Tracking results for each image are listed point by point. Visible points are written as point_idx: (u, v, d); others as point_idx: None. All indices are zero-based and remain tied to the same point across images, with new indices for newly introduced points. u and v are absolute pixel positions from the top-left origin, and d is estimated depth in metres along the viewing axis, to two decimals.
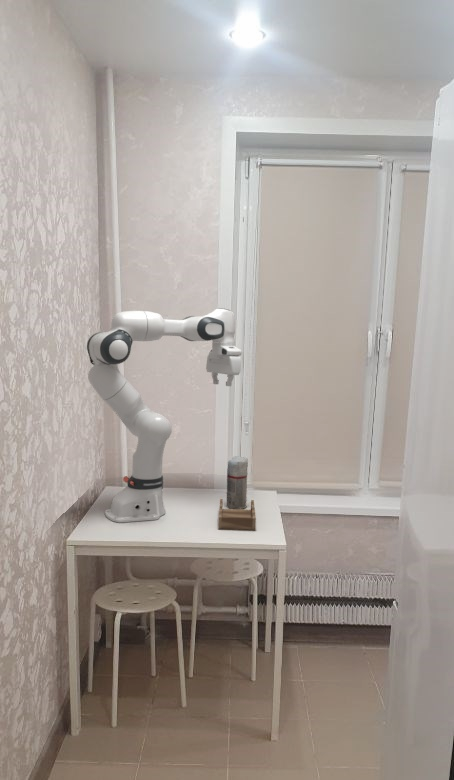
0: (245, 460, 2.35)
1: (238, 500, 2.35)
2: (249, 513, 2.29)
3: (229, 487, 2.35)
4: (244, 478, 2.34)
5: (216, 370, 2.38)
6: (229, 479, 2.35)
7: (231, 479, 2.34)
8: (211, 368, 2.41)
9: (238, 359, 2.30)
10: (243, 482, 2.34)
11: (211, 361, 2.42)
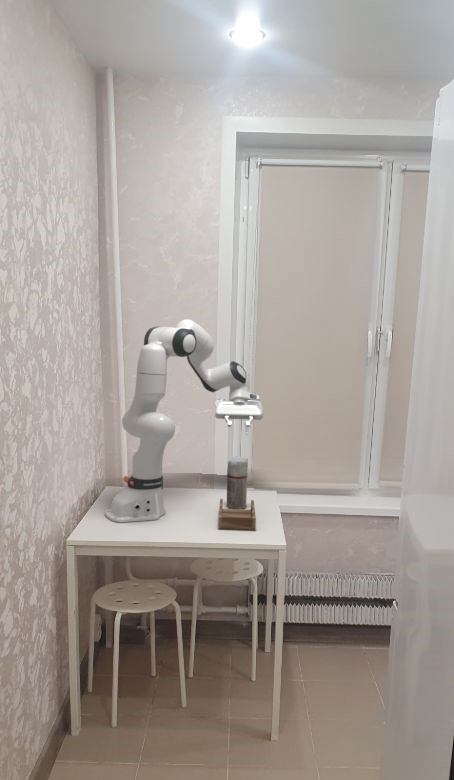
0: (245, 460, 2.35)
1: (238, 500, 2.35)
2: (249, 513, 2.29)
3: (229, 487, 2.35)
4: (244, 478, 2.34)
5: (235, 412, 2.53)
6: (229, 479, 2.35)
7: (231, 479, 2.34)
8: (225, 411, 2.53)
9: None
10: (243, 482, 2.34)
11: (224, 406, 2.55)
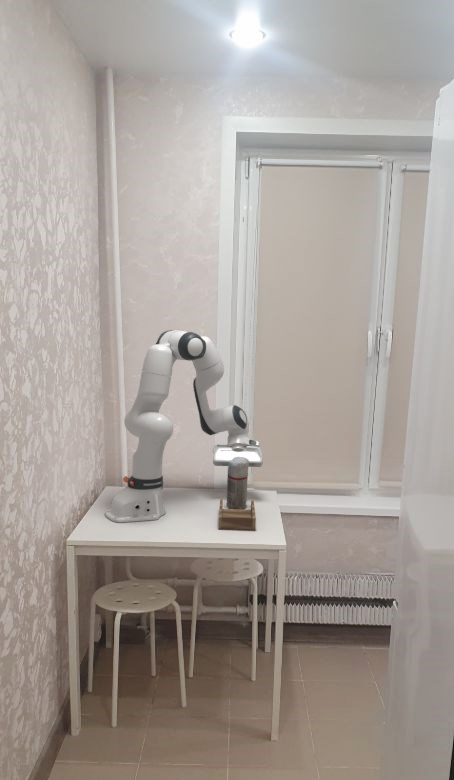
0: (246, 461, 2.33)
1: (238, 501, 2.34)
2: (249, 513, 2.29)
3: (229, 487, 2.34)
4: (244, 479, 2.33)
5: None
6: (229, 480, 2.34)
7: (231, 479, 2.33)
8: (224, 458, 2.43)
9: None
10: (243, 483, 2.33)
11: (223, 452, 2.45)
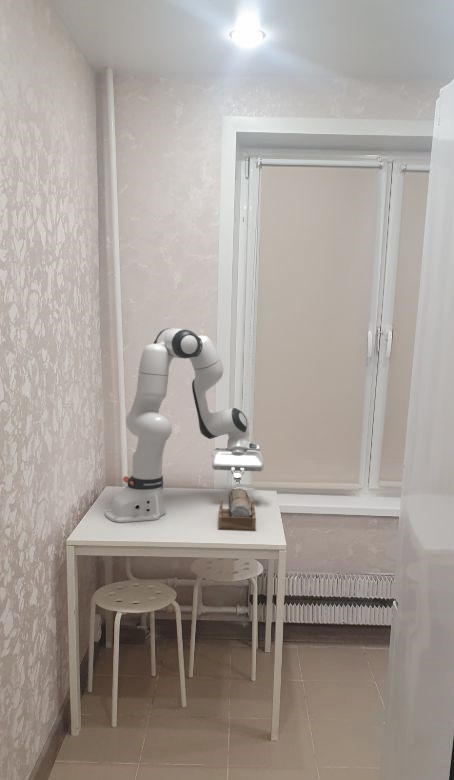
0: None
1: None
2: None
3: None
4: None
5: (233, 463, 2.37)
6: None
7: None
8: (223, 462, 2.37)
9: None
10: None
11: (222, 456, 2.39)
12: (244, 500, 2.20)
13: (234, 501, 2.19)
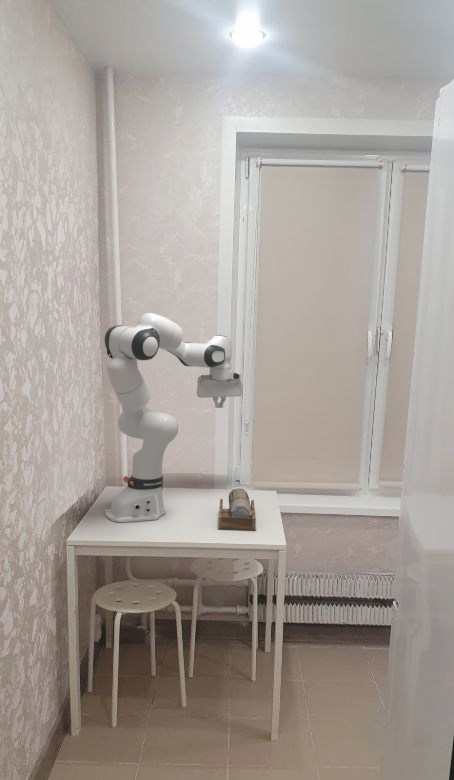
0: None
1: None
2: None
3: None
4: None
5: (218, 394, 2.47)
6: None
7: None
8: (209, 393, 2.45)
9: None
10: None
11: (208, 386, 2.45)
12: (245, 500, 2.20)
13: (235, 501, 2.19)
